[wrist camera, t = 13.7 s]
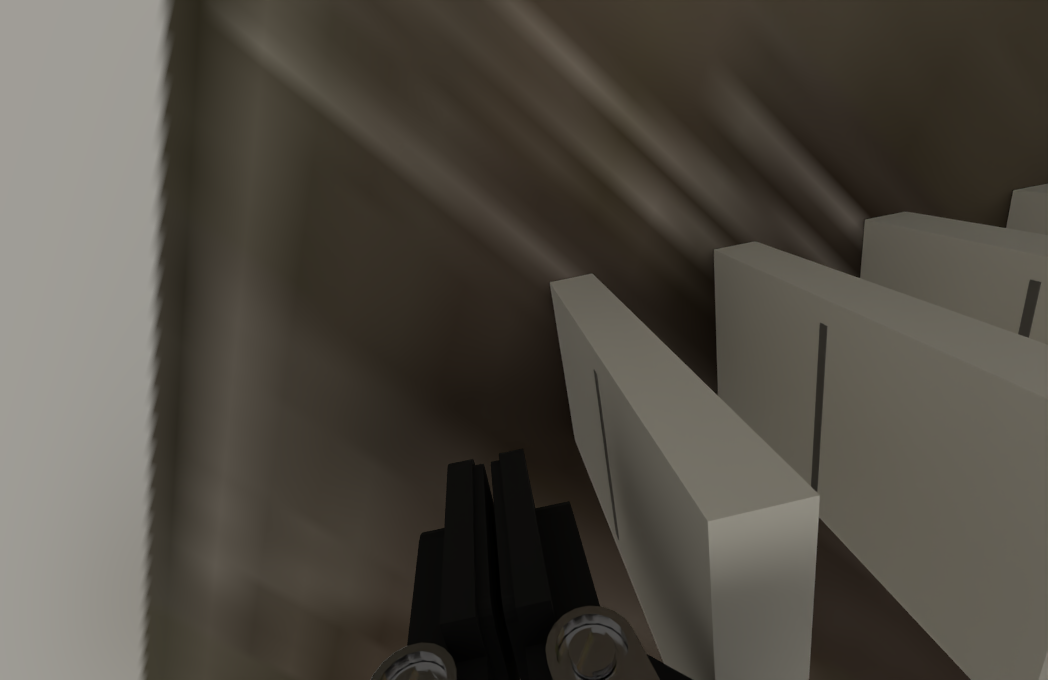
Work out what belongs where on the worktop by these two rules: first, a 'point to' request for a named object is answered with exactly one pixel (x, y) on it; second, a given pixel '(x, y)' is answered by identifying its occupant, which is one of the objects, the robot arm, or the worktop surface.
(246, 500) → the worktop surface
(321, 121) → the worktop surface
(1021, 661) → the domino
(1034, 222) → the domino
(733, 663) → the domino
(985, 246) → the domino
